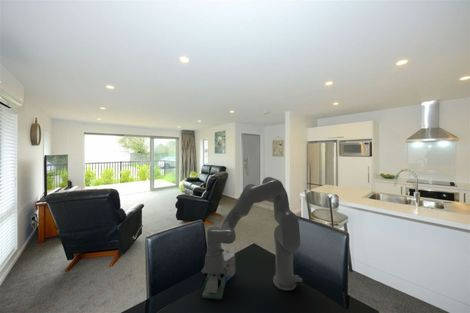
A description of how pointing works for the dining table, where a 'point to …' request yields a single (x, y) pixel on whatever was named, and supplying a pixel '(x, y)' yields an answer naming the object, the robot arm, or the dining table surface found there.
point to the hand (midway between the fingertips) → (214, 284)
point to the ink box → (229, 264)
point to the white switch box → (213, 283)
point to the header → (214, 295)
